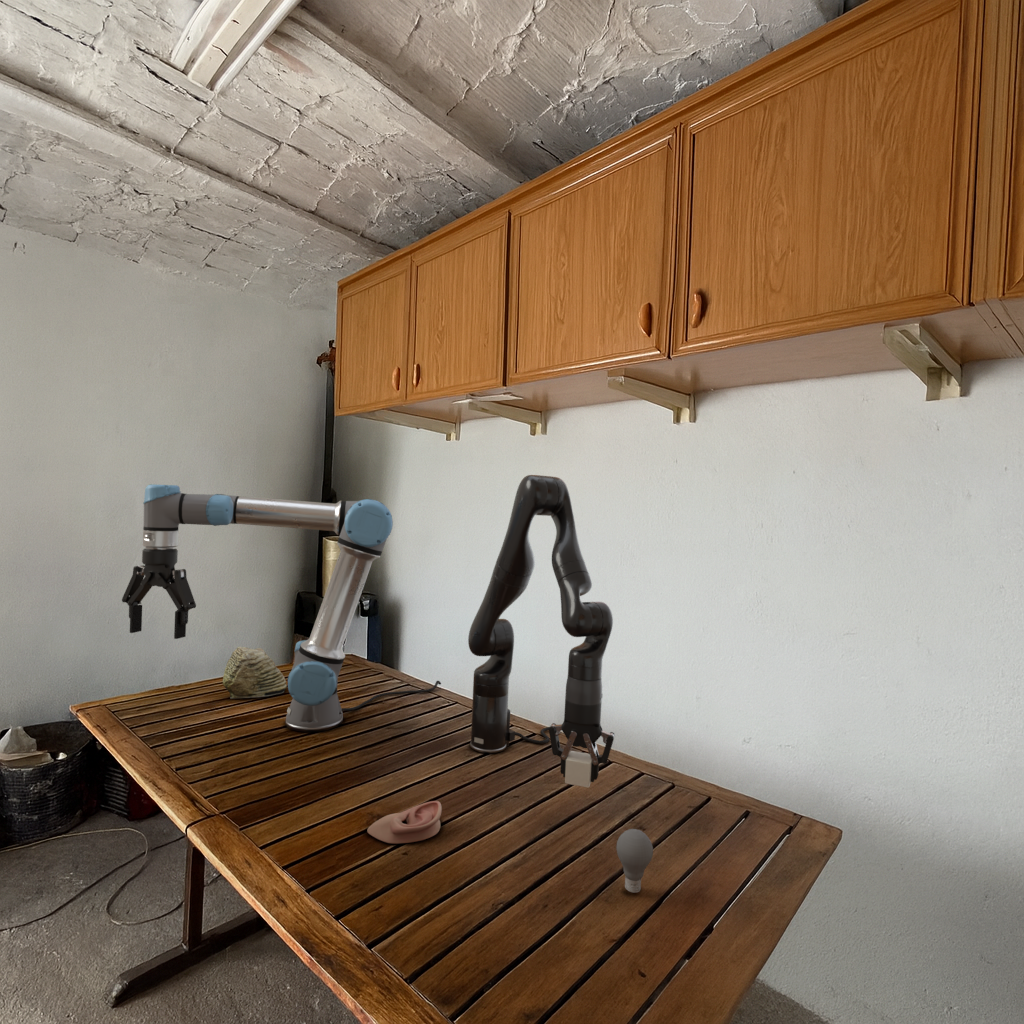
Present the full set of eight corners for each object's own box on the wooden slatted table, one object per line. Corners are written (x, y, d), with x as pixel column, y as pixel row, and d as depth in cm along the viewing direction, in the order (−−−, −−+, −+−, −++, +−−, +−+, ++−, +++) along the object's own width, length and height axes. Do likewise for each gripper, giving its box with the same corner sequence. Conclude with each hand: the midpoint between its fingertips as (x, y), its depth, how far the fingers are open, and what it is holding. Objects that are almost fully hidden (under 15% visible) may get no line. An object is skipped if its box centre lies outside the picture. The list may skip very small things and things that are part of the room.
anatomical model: (360, 817, 118) (385, 790, 129) (359, 839, 118) (384, 809, 129) (428, 828, 115) (447, 799, 126) (427, 850, 115) (446, 819, 126)
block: (564, 783, 130) (565, 759, 130) (569, 773, 135) (570, 750, 135) (589, 787, 129) (590, 763, 129) (593, 777, 134) (594, 754, 134)
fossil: (218, 695, 195) (220, 647, 195) (278, 685, 208) (279, 640, 207) (228, 703, 189) (230, 653, 188) (289, 692, 201) (290, 645, 201)
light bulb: (610, 879, 108) (613, 822, 108) (644, 879, 109) (647, 822, 109) (619, 902, 102) (622, 840, 102) (655, 901, 103) (658, 840, 103)
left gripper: (106, 545, 154) (104, 632, 154) (189, 552, 147) (186, 643, 147) (133, 543, 161) (130, 626, 161) (213, 550, 154) (210, 637, 154)
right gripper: (545, 698, 130) (541, 779, 130) (615, 708, 126) (611, 792, 126) (553, 688, 137) (549, 765, 138) (620, 697, 133) (615, 776, 134)
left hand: (157, 634), depth 154 cm, fingers open, 13 cm apart
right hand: (579, 777), depth 132 cm, fingers closed on block, 5 cm apart
